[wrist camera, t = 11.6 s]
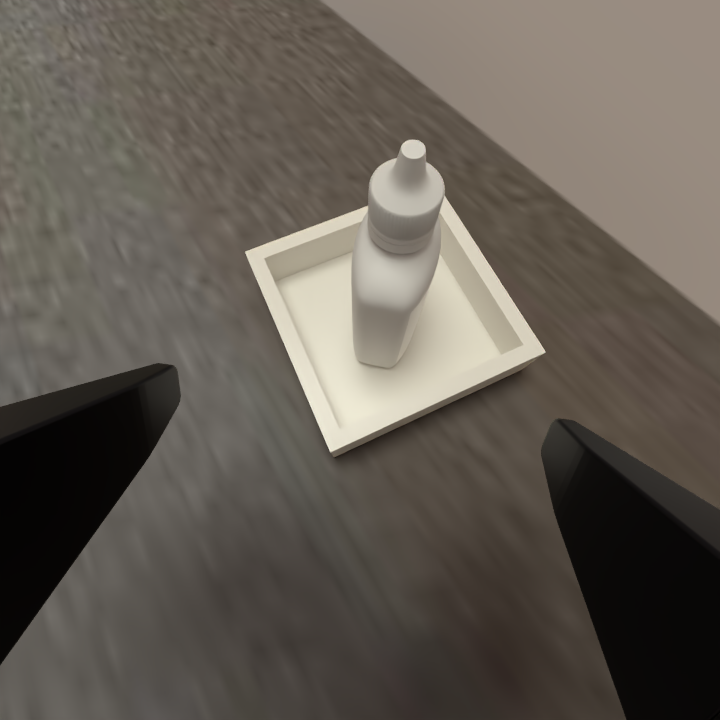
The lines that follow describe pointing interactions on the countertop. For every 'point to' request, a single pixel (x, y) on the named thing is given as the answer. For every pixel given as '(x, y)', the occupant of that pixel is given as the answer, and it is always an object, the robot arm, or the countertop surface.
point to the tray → (426, 348)
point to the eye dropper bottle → (395, 255)
